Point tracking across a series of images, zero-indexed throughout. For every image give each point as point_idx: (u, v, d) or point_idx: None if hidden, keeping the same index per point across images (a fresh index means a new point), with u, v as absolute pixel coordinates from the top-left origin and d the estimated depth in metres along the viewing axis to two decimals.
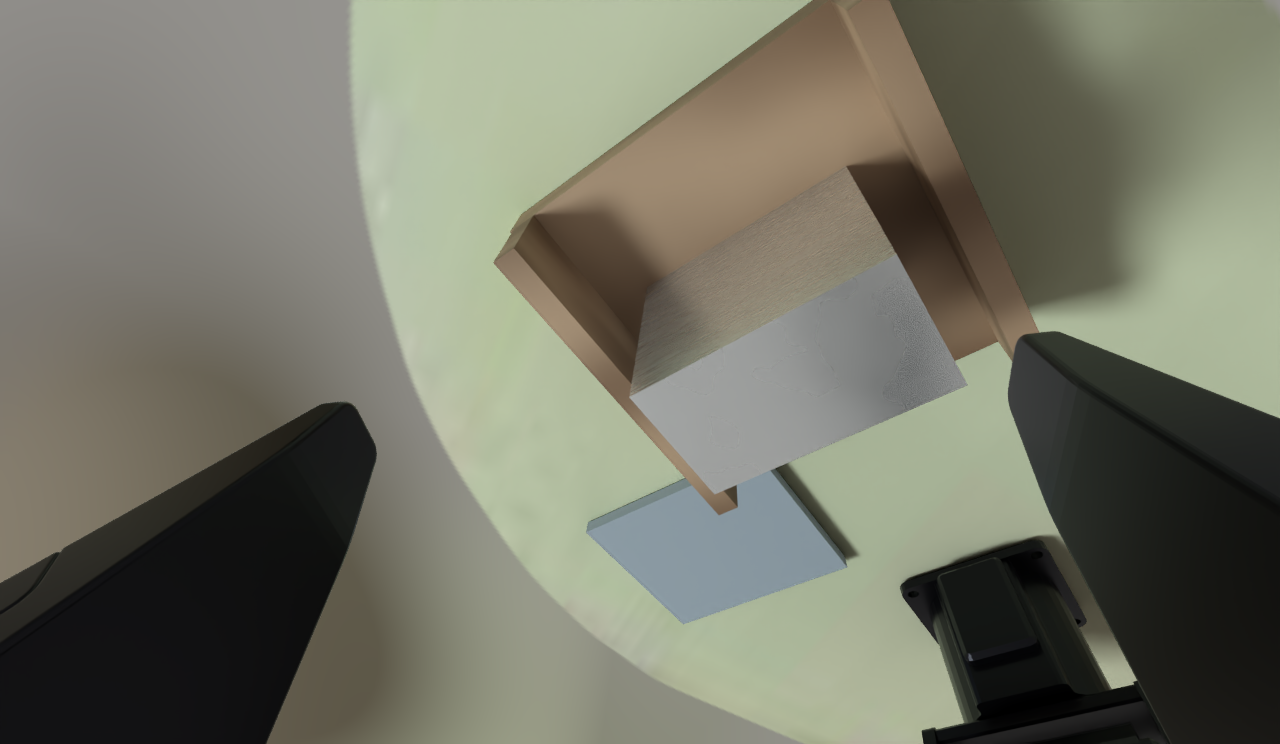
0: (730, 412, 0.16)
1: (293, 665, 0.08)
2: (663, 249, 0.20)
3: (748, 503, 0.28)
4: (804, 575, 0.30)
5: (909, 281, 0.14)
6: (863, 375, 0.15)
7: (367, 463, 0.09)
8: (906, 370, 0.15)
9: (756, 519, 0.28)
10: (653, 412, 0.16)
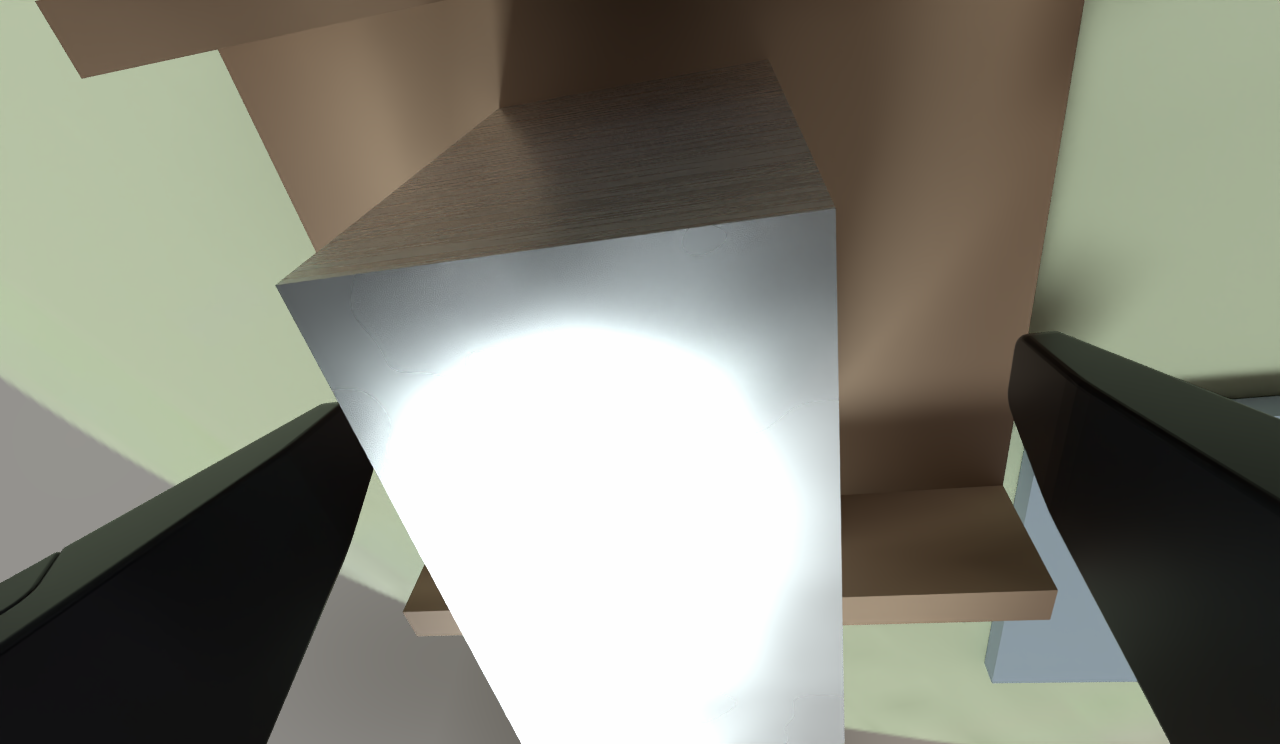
0: (636, 678, 0.07)
1: (293, 665, 0.08)
2: None
3: None
4: None
5: (368, 276, 0.05)
6: (647, 453, 0.05)
7: (367, 463, 0.09)
8: (680, 361, 0.05)
9: None
10: None
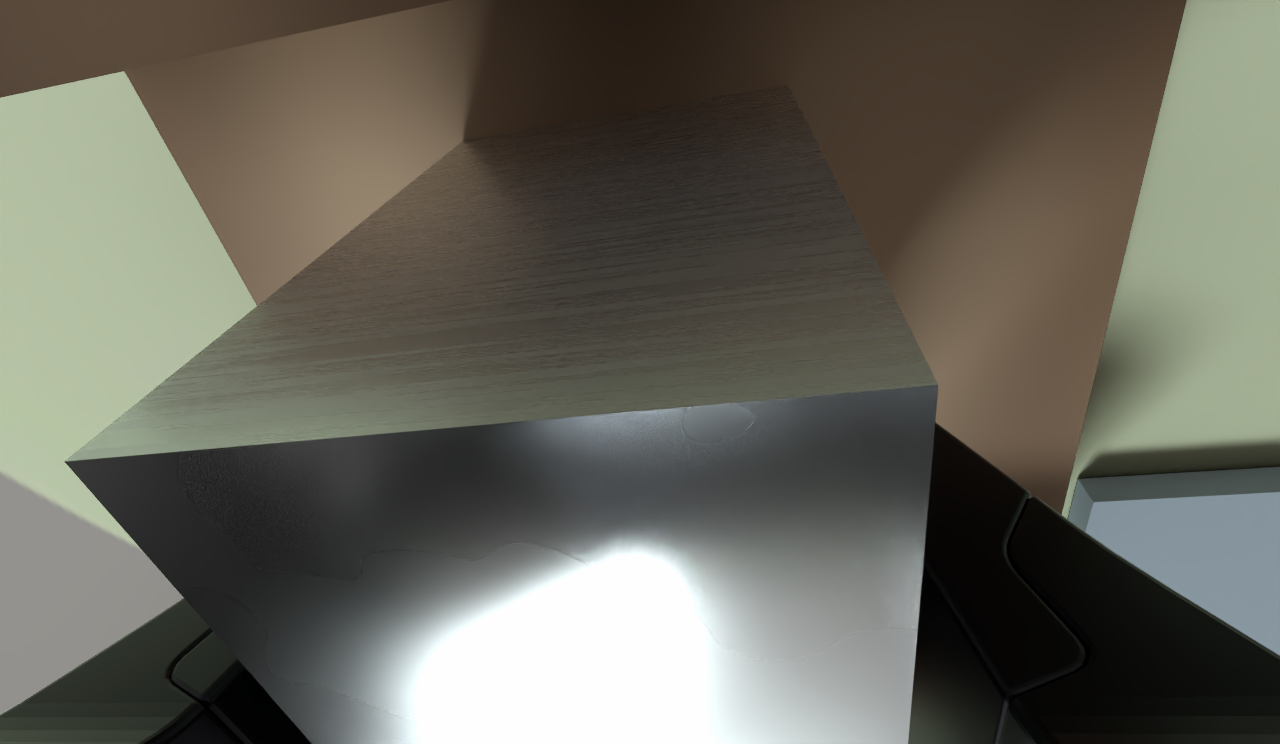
0: None
1: None
2: None
3: (1203, 561, 0.12)
4: None
5: (199, 454, 0.03)
6: (633, 675, 0.04)
7: None
8: (678, 573, 0.03)
9: (1262, 566, 0.12)
10: None
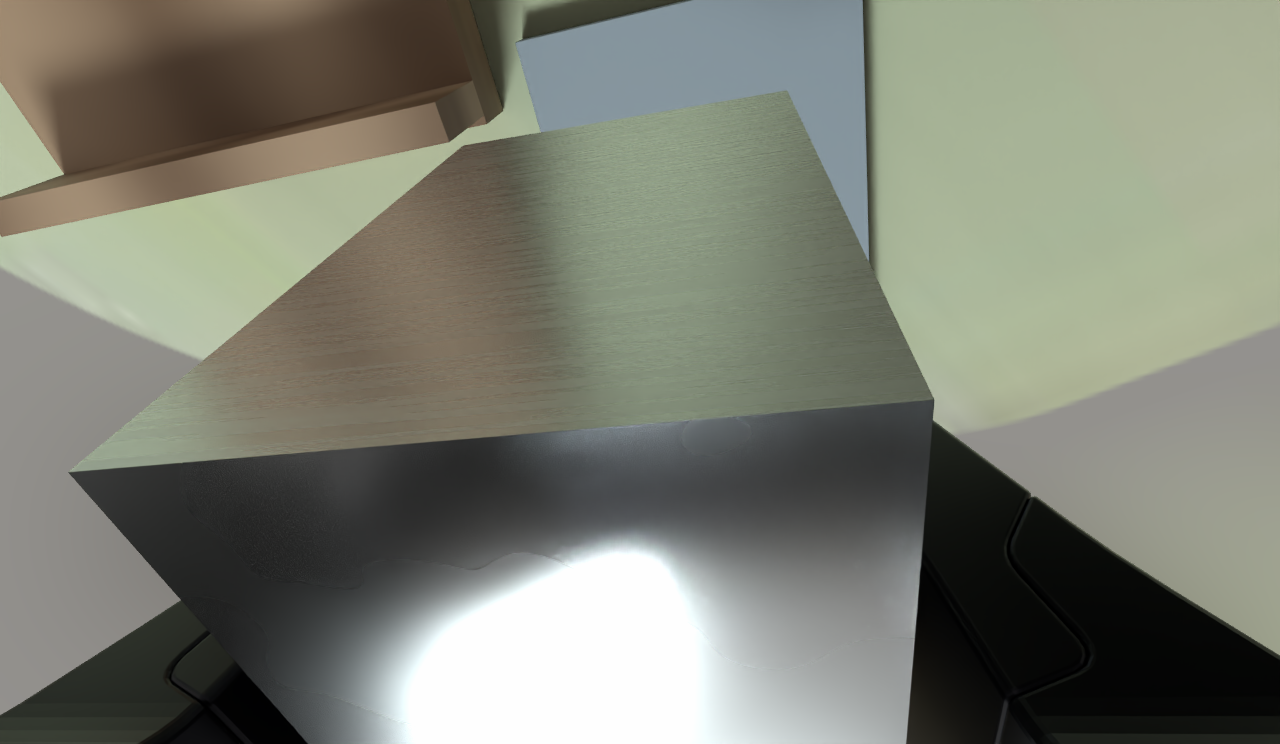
0: None
1: None
2: (93, 38, 0.15)
3: (618, 99, 0.16)
4: (844, 59, 0.15)
5: (202, 465, 0.03)
6: (631, 683, 0.04)
7: None
8: (676, 582, 0.03)
9: (660, 99, 0.16)
10: None
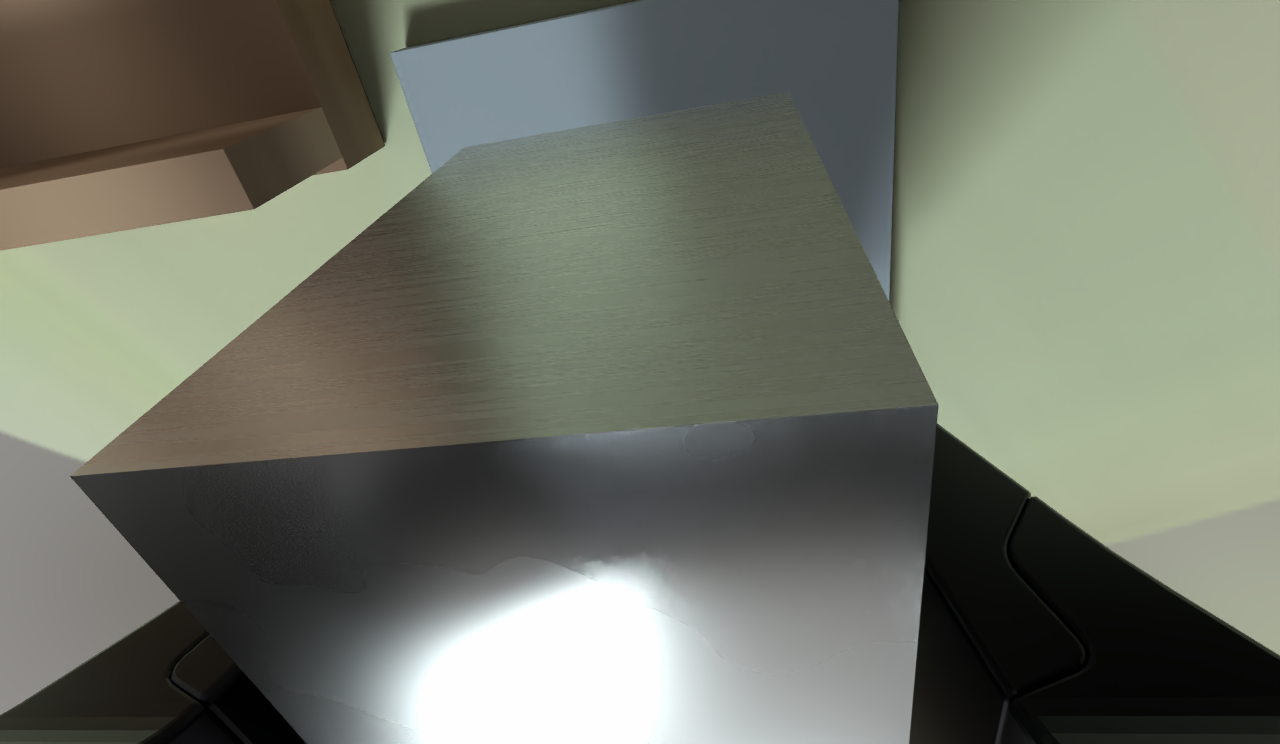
0: None
1: None
2: None
3: None
4: (867, 96, 0.10)
5: (204, 469, 0.03)
6: (633, 687, 0.04)
7: None
8: (680, 586, 0.03)
9: None
10: None
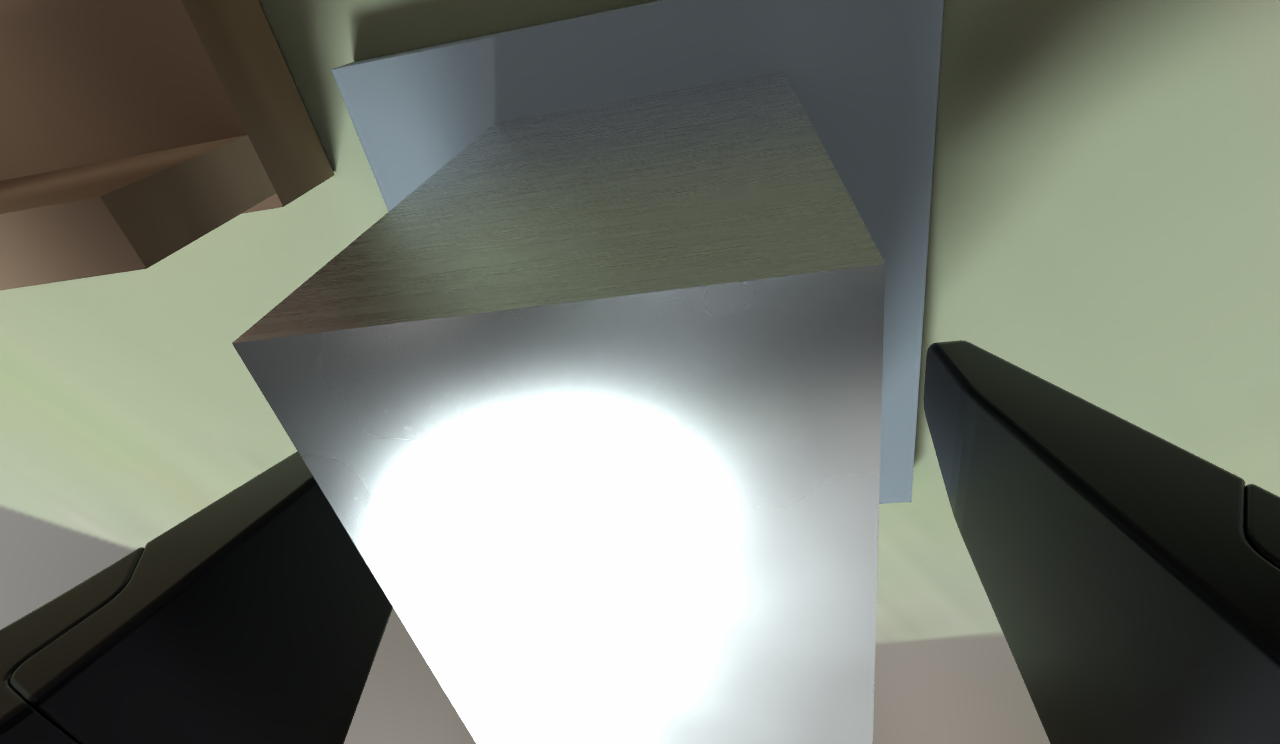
0: None
1: (367, 664, 0.08)
2: None
3: None
4: (902, 121, 0.09)
5: (338, 334, 0.04)
6: (659, 525, 0.05)
7: None
8: (697, 429, 0.04)
9: None
10: None
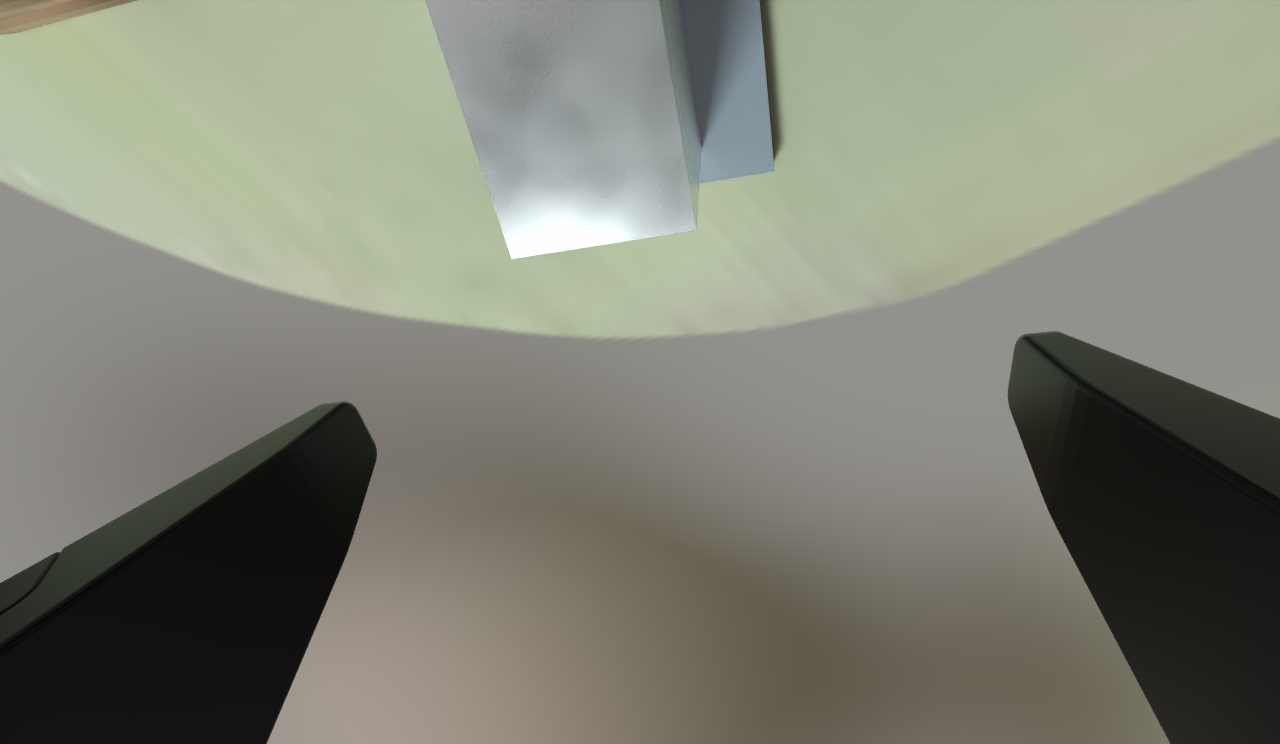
0: (567, 157, 0.12)
1: (293, 665, 0.08)
2: None
3: None
4: None
5: None
6: None
7: (367, 463, 0.09)
8: None
9: None
10: (539, 243, 0.14)
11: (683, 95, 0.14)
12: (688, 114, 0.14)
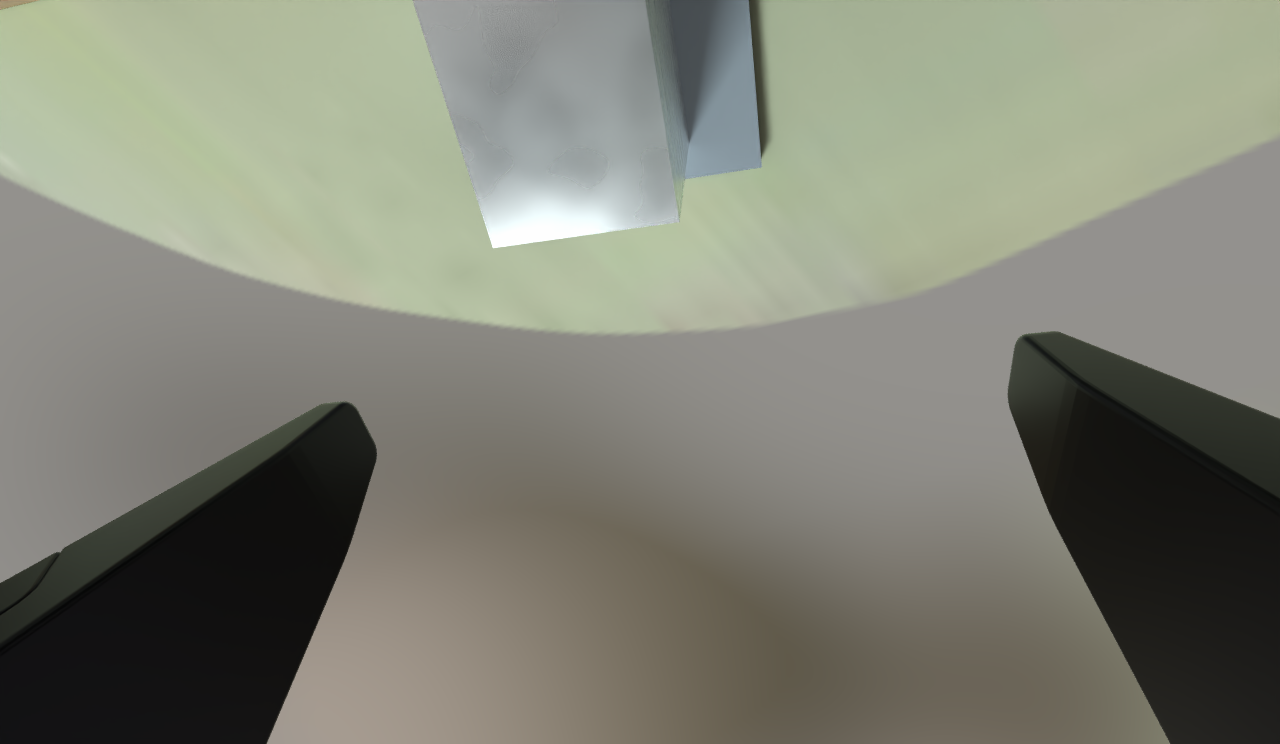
0: (549, 144, 0.12)
1: (293, 665, 0.08)
2: None
3: None
4: None
5: None
6: None
7: (368, 463, 0.09)
8: None
9: None
10: (520, 232, 0.13)
11: (669, 86, 0.14)
12: (674, 106, 0.14)
